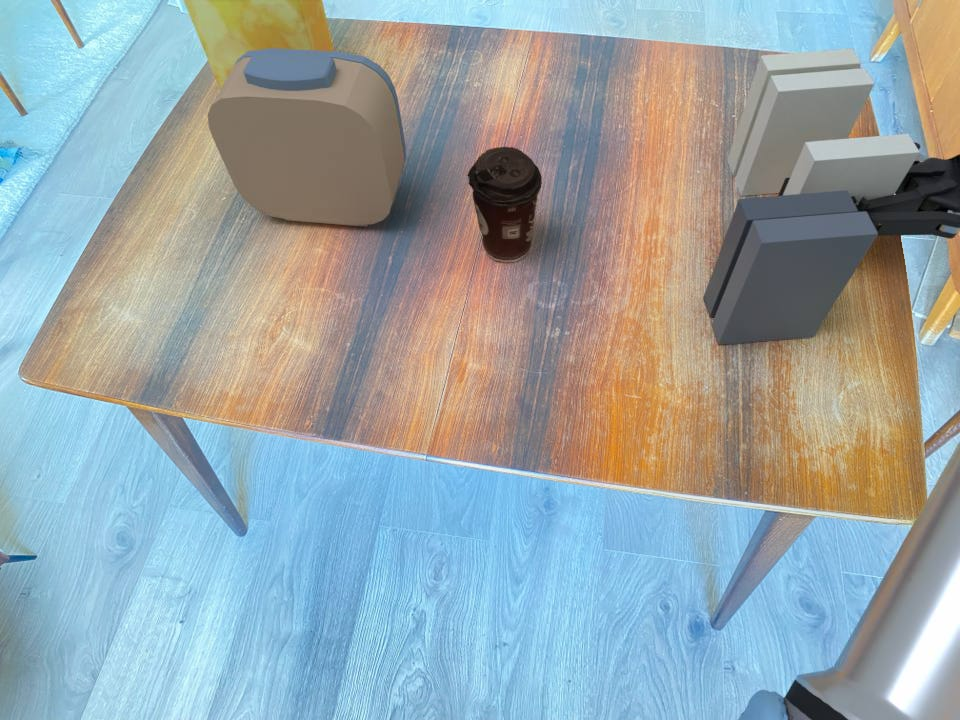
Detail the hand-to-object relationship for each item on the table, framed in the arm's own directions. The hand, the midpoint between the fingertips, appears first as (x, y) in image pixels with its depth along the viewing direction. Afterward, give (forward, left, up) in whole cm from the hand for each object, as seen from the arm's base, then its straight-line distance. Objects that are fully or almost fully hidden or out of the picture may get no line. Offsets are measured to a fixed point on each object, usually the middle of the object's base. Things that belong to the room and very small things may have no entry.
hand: (788, 200), depth 78 cm
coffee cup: (+28, +16, -9) cm, 34 cm away
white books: (+5, -14, -9) cm, 18 cm away
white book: (-4, -4, -9) cm, 11 cm away
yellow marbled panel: (+78, +6, -9) cm, 79 cm away
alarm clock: (+52, +23, -9) cm, 58 cm away
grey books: (-3, +9, -9) cm, 14 cm away
